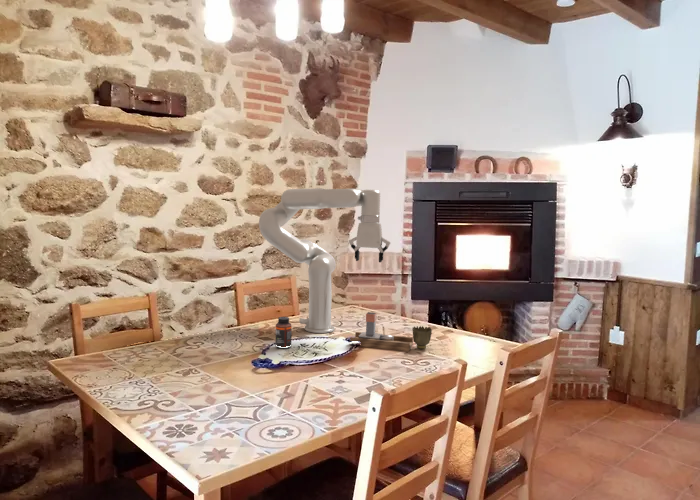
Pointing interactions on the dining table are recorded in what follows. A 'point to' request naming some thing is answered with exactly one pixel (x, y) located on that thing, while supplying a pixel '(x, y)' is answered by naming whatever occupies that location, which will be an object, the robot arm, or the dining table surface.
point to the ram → (373, 329)
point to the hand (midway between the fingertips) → (368, 261)
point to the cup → (421, 336)
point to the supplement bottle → (283, 332)
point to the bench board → (385, 342)
